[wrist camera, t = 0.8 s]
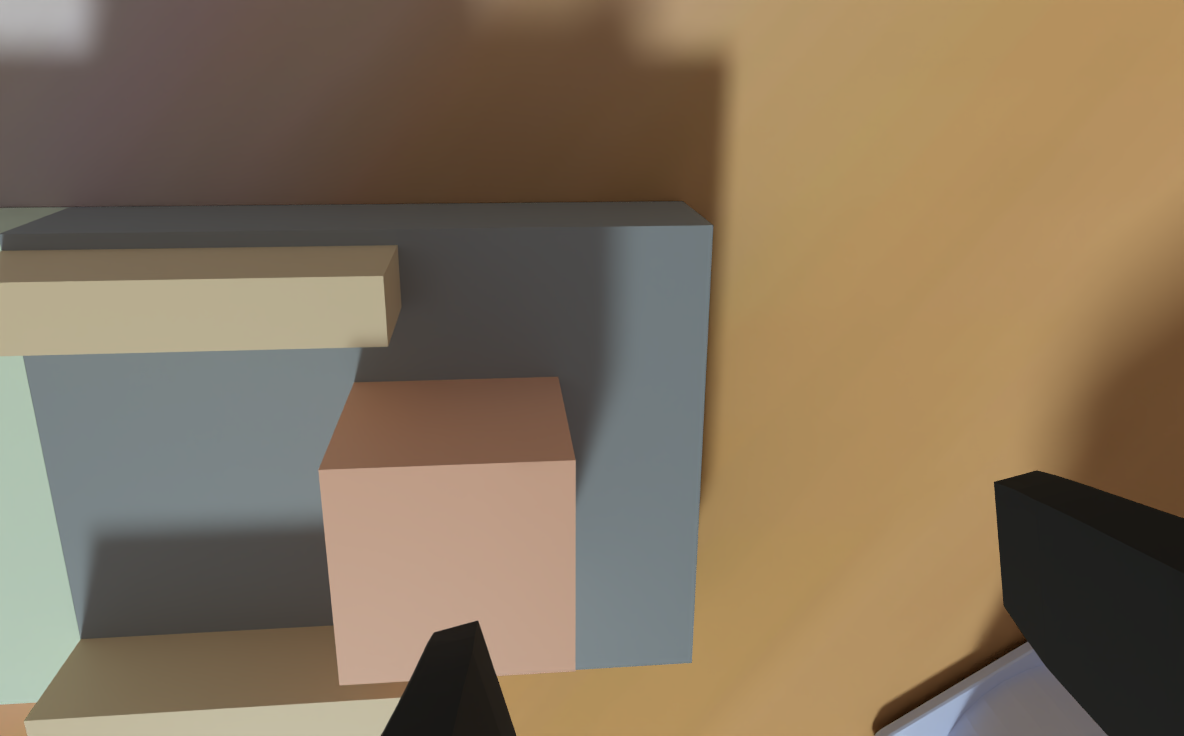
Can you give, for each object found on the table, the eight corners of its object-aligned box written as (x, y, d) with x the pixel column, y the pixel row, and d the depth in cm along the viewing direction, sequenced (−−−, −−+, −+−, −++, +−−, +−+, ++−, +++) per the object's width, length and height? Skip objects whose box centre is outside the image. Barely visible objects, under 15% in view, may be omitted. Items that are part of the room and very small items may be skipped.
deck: (683, 201, 21) (746, 251, 15) (667, 590, 24) (716, 739, 19) (-632, 213, 18) (-1083, 280, 13) (-448, 648, 21) (-748, 840, 16)
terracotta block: (557, 376, 18) (575, 460, 15) (558, 553, 20) (575, 671, 16) (354, 382, 18) (318, 470, 14) (368, 562, 19) (339, 685, 16)
